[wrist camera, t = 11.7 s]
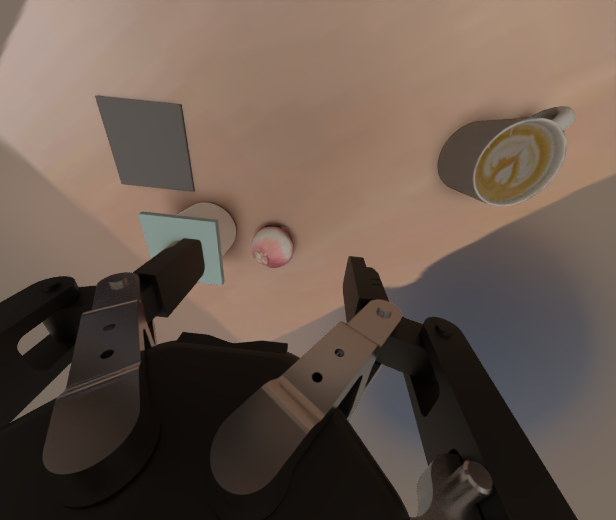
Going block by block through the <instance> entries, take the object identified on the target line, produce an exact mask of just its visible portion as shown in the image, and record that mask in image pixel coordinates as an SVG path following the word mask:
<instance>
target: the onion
mask: <svg viewBox="0 0 616 520" xmlns="http://www.w3.org/2000/svg"><path fill="white" fill-rule="evenodd" d="M265 227H266V228H263V229H261V230H260V231H259V232H258V233H257V234H256V235H255V237H254V239H253V241H252V255H253V257H254V259H256V260H257V261H258V262H259V263H261V264H262V265H263V266H265V267H269V268H277V267H280V266H283V265H285V264H287V263H288V262H289V261H290V260H291V258H292V256H293V252H294V247H293V243H292V241H291V239H290V237H289V232H288V228H287V226H276V227H274V226H265ZM277 227H279V228H277Z"/></svg>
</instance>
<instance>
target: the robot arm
mask: <svg viewBox="0 0 616 520" xmlns="http://www.w3.org/2000/svg"><path fill="white" fill-rule="evenodd" d="M204 270H205V263H204V256H203V250H202V244H201V241H200V240H197V239H188V238H183V239H182V240H181V241H179V242H178V243H177V244H175V245H174V246H172V247H169V248H167V249H164V250H163V251H161V252H160V253H158V254H157V255H156V256H154V257H153V258H152V259H151V260H149V261H148V262H146V263H145V264H144V265H142V266H141V267H140V268H138V269H137V270H136V271H134V272H133V273H130V272H129V273H128V272H124V273H117V274H114V275H110V276H108V277H106V278H104V279H102V280H101V281H99V282H98V283H97V285H96V286H87V287H78V286H77V283H76V282H75V279H73V278H72V277H67V276H63V277H62V276H60V277H53V278H49V279H45V280H42V281H39V282H37V283H35V284H32V285H30V286H29V287H27V288H25V289H24V290H22V291H20V292H18V293H16V294H15V295H13V296H11V297H9V298H7V299H6V300H4V301H2V302H1V303H0V520H578V519H577V518H576V516H575V514H574V513H573V511H572V509H571V508H570V506H569V505H568V503H567V501H566V500H565V498H564V497H563V495H562V493H561V492H560V490H559V489H558V487H557V485H556V484H555V482H554V480H553V479H552V477H551V476H550V474H549V472H548V471H547V469H546V467H545V466H544V464H543V463H542V461H541V459H540V458H539V456H538V454H537V453H536V451H535V450H534V448H533V446H532V445H531V443H530V442H529V440H528V438H527V437H526V435H525V433H524V432H523V430H522V429H521V427H520V425H519V424H518V422H517V420H516V419H515V418H514V416H513V414H512V412H511V411H510V409H509V407H508V406H507V404H506V403H505V401H504V399H503V398H502V396H501V394H500V393H499V391H498V390H497V388H496V386H495V385H494V383H493V382H492V380H491V378H490V377H489V375H488V374H487V372H486V370H485V369H484V367H483V365H482V364H481V362H480V361H479V359H478V358H477V356H476V354H475V352H474V351H473V349H472V348H471V346H470V344H469V343H468V341H467V339H466V338H465V336H464V335H463V333H462V332H461V330H460V329H459V328H458V327H457V326H455V325H454V324H453V323H451V322H449V321H447V320H445V319H442V318H438V317H429V318H427V319H426V320H425V321H424V323H423V324H421V323H418V322H415V321H412V320H409V319H406V318H404V317H402V313H401V311H400V309H399V308H398V307H397V306H395V305H394V304H392V303H390V302H389V300H388V297H387V295H386V293H385V290H384V287H383V286H382V285H383V284H382V282H381V281H380V280H381V279H380V277H379V274H378V273H377V272H376V271H375V270H374V269H373V268H371V267H366V264H365V261H364V258H362V257H353V256H349V258H348V262H347V266H346V271H345V276H344V281H343V296H344V304H345V311H346V320H347V324H346V323H344V322H339V323H338V324H337V325H336V326H334V327H333V328H332V329H331V330H330V331H329V332H328V333H327V334H326V335H325V336H324V337H323V338H322V339H321V340H319V341H318V342H317V343H316V344H315V345H314V346H313V347H312V348H311V349H310V350H309V351H308V352H307V353H305V354H304V355H303V356H302V357H301V358H299V357H297V356H295V355H293V354H292V353H289V352H287V349H288V344H287V343H278V342H270V341H254V342H244V343H230V342H227V341H224V340H221V339H219V338H216V337H213V336H210V335H206V334H196V333H187V332H182V334H181V335H180V337H179V338H178V339H177V340H176V341H170V342H165V343H162V344H158V345H157V339H156V332H155V324H154V321H153V319H154V318H155V317H156V316H159V317H168V316H169V315H170V314H171V313H172V312H173V310H174V309H175V308H176V307H177V306H178V304H179V303H180V302H181V301H182V300H183V298H184V297H185V296H186V295H187V294H188V293H189V291H190V290H191V289H192V288H193V287H194V285H195V284H196V283H197V282H198V281H199V279H200V278H201V277H202V276H203V274H204ZM41 322H43V324H44V325H45V327H46V328H47V330H48V331H49V333H50V334H49V335H48V336H47V337H45V338H44V339H43V340H42V341H40V342H39V343H38V344H37V345H35V346H34V347H33V348H32V349H30V350H29V351H28V352H27V353H25V354H24V355H23V356H22V355H21V354H20V353H19V351H18V349H17V344H18V342H19V340H20V339H21V338H22V336H24V335H25V334H26V333H28V332H29V331H30V330H32V329H33V328H35V327H36V326H37V325H39V324H40V323H41ZM70 363H71V367H70V371H69V376H68V381H67V386H66V389H65V391H64V392H63V393H62V394H60V395H59V396H58V397H57V398H55V399H53V400H52V401H50V402H48V403H46V404H44V405H42V406H40V407H39V408H37V409H35V410H33V411H31V412H30V413H27V414H26V415H24V416H22V417H20V418H18V419H16V420H15V421H13V422H11V421H12V420H13V419H14V418H15V417H16V416H17V415H18V414H19V413H20V412H21V411H22V410H23V409H24V408H25V407H26V406H27V405H28V404H29V403H30V402H31V401H32V400H33V399H34V398H35V397H36V396H38V395H39V394H40V393H41V392H42V390H44V388H46V386H47V385H49V384H50V383H51V382H52V381H53V380H54V379H55V378H56V377H57V376H58V375H59V374H60V373H61V372H62V371H63V370H64V369H65V368H66V367H67V366H68V365H69V364H70ZM383 365H386V366H388V367H391V368H393V369H396V370H398V371H401V372H403V374H404V377H405V381H406V384H407V388H408V392H409V396H410V400H411V403H412V407H413V411H414V415H415V418H416V422H417V426H418V430H419V433H420V437H421V441H422V445H423V448H424V452H425V456H426V460H427V463H428V467H427V468H426V469H425V471H424V472H423V473H422V474H421V476H420V477H419V480H418V483H417V497H418V512H417V516H416V517H409V515H408V512H407V510H406V508H405V506H404V504H403V502H402V500H401V498H400V496H399V495H398V493H397V491H396V490H395V489H394V487H393V485H392V484H391V483H390V481H389V480H388V478H387V477H386V475H385V474H384V473H383V471H382V470H381V468H380V467H379V465H378V464H377V462H376V461H375V459H374V458H373V456H372V455H371V453H370V452H369V451H368V449H367V448H366V446H365V445H364V443H363V442H362V440H361V439H360V437H359V436H358V435H357V433H356V432H355V430H354V429H353V427H352V426H351V424H350V423H349V420H350V418H351V417H352V415H353V413H354V411H355V410H356V408H357V406H358V404H359V402H360V400H361V398H362V396H363V395H364V393H365V391H366V390H367V388H368V387H369V385H370V384H371V382H372V381H373V379H374V378H375V376H376V375H377V373H378V372H379V370H380V368H381V367H382V366H383ZM10 422H11V423H10Z"/></svg>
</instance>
